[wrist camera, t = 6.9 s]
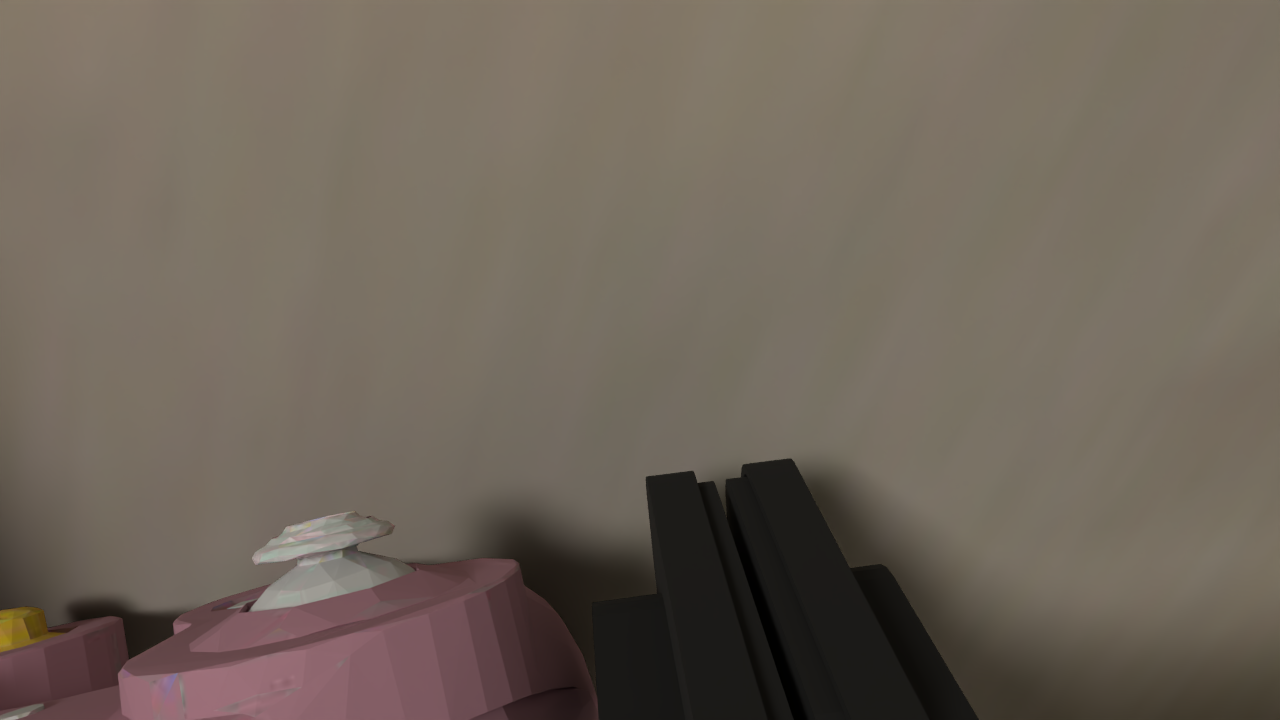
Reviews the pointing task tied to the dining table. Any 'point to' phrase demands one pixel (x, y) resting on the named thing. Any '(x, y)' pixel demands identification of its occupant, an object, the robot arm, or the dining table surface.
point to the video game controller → (316, 646)
